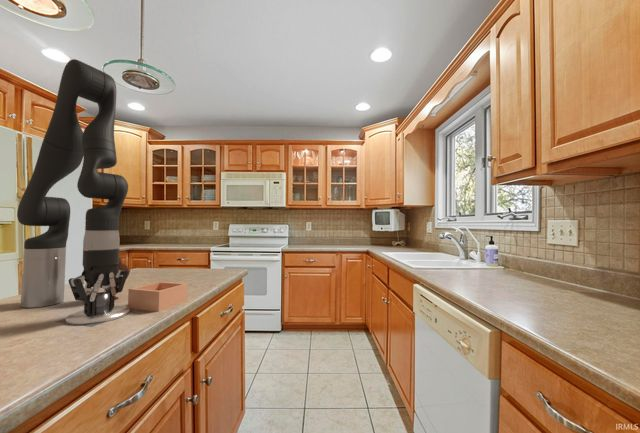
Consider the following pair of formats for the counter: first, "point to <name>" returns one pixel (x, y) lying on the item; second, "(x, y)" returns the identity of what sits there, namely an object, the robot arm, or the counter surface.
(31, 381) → the counter surface
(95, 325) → the mat
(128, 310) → the lid
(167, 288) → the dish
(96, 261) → the robot arm
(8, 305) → the counter surface
